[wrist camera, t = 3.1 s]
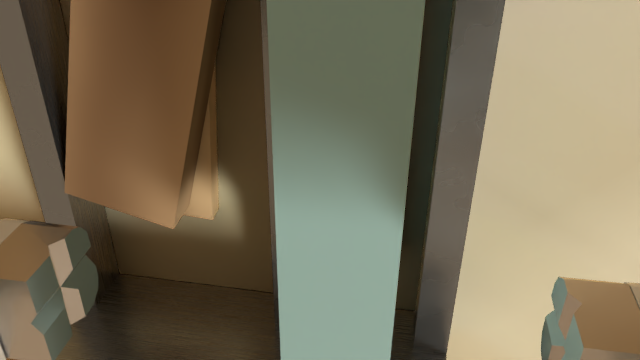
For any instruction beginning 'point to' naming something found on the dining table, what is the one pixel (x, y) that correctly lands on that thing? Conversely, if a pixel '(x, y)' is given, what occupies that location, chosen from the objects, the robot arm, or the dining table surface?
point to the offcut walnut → (139, 102)
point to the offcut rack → (253, 306)
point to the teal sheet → (341, 168)
